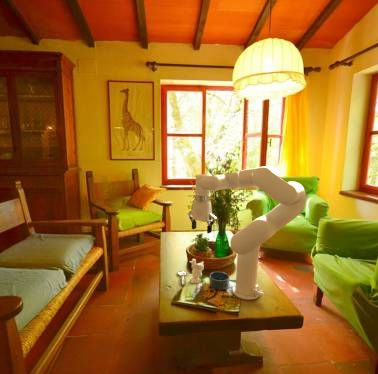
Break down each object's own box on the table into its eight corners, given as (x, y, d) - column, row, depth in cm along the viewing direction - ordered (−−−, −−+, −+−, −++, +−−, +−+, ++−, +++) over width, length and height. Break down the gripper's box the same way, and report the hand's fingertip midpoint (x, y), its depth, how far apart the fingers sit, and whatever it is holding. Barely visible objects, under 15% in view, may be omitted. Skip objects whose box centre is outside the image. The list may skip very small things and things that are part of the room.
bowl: (232, 285, 127) (233, 275, 126) (222, 293, 120) (222, 283, 119) (216, 278, 133) (216, 269, 133) (205, 285, 126) (205, 276, 125)
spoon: (187, 285, 126) (187, 283, 126) (179, 285, 125) (179, 284, 125) (185, 272, 139) (185, 271, 139) (177, 272, 139) (177, 271, 139)
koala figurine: (191, 285, 126) (191, 262, 124) (185, 279, 132) (186, 257, 130) (206, 282, 129) (207, 260, 127) (200, 276, 135) (201, 255, 133)
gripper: (184, 197, 132) (184, 229, 134) (212, 201, 122) (211, 236, 124) (193, 195, 138) (192, 226, 140) (220, 199, 127) (219, 232, 130)
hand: (201, 230), depth 132 cm, fingers open, 9 cm apart
